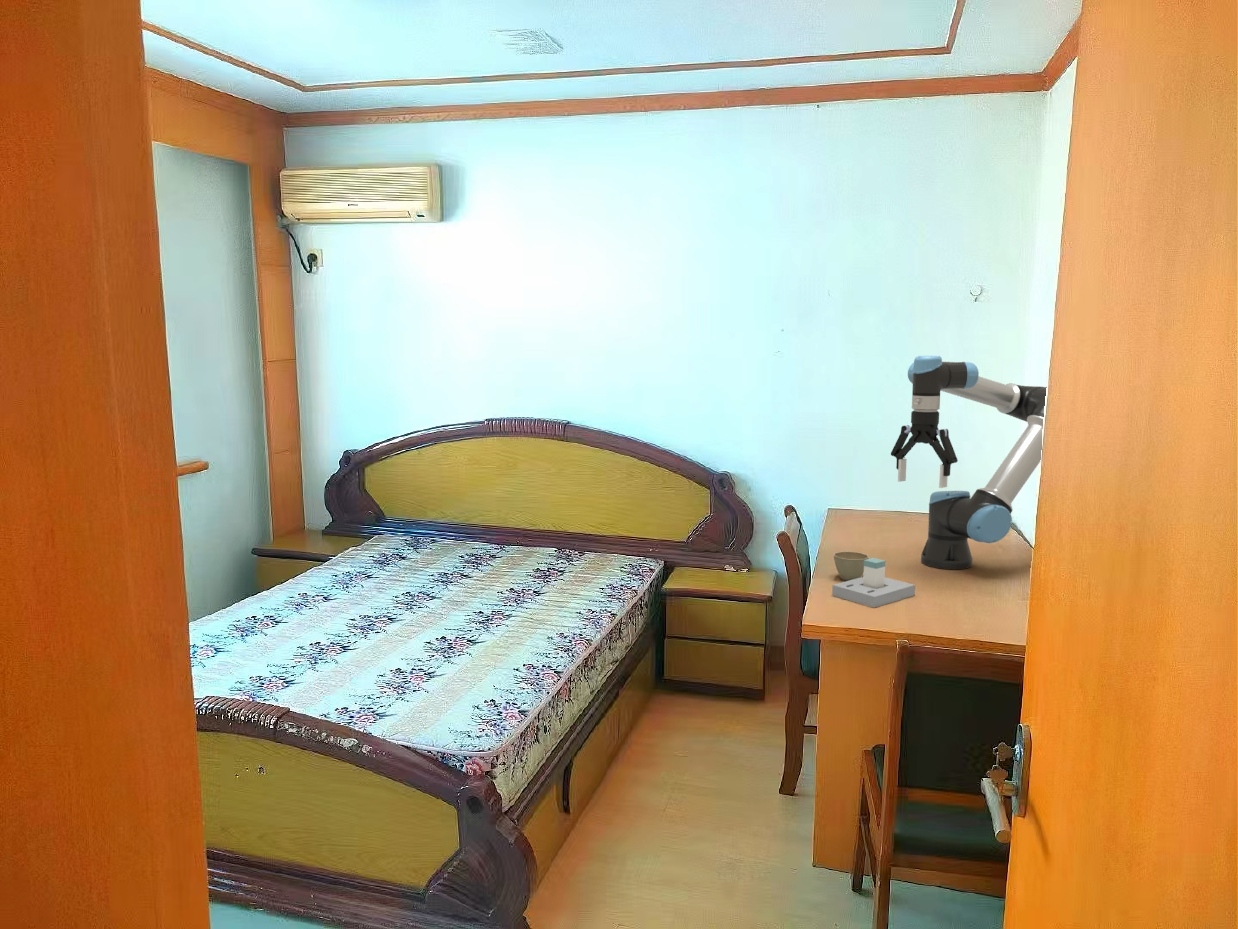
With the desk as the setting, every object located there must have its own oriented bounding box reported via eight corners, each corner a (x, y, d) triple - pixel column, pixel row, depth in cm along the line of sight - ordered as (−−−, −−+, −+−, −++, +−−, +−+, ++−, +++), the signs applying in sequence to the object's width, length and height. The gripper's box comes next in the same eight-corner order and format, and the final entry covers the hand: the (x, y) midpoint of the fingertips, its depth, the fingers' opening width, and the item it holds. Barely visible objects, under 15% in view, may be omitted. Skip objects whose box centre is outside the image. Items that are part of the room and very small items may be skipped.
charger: (871, 592, 249) (873, 557, 248) (884, 595, 246) (885, 560, 244) (862, 595, 247) (863, 560, 245) (874, 598, 243) (876, 563, 242)
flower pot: (866, 584, 257) (867, 560, 255) (831, 581, 260) (831, 557, 259) (869, 576, 266) (870, 552, 265) (835, 573, 269) (835, 550, 268)
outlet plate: (872, 584, 257) (873, 573, 257) (914, 595, 246) (915, 584, 246) (832, 595, 246) (832, 584, 246) (874, 607, 235) (874, 596, 235)
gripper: (880, 408, 260) (877, 479, 263) (957, 414, 241) (953, 491, 244) (896, 406, 265) (893, 477, 268) (973, 412, 245) (969, 488, 248)
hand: (921, 484), depth 256 cm, fingers open, 13 cm apart
